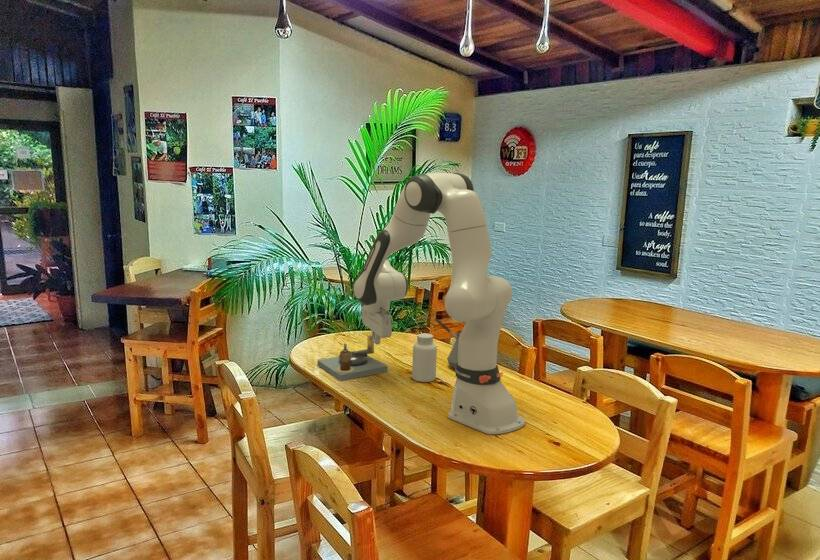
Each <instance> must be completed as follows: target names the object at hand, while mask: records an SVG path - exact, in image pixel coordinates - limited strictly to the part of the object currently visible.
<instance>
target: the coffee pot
mask: <svg viewBox="0 0 820 560" xmlns="http://www.w3.org/2000/svg"><path fill="white" fill-rule="evenodd" d="M432 321H433V322H432V323H438V324H439V325H440V326H441V327H442V328H443V329H444V330H445V331H447V332H448V333H449V334H450V335H451V336H453V338H455V339H456V340H455V342H454V344H453V346H452V348H451V350H450V352H449V354H448V357H447V362H448V364H449V365H450V366H451V367H452V369H454V370H455V368H456V363H457V362H458V339H459V335H460V333H461V332H462V330H463V329H460V330H456V331H455V332H452V330H451V329H450V328H449V327H448V326H447V325H446V324H444V323H443V322H442V320H439V319H438V318H434V319H433V320H432ZM434 321H435V322H434Z"/></svg>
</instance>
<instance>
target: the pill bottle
mask: <svg viewBox="0 0 820 560" xmlns="http://www.w3.org/2000/svg"><path fill="white" fill-rule="evenodd" d="M416 340H417V341H416V342H415V343H414V344H413V346H412V362H411V363H412V369H411V371H412V372H411V375H412V376H411V378H412V379H413V380H414V381H417V382H421V383H428V382H429V383H430V382H433V381H435V380H436V377H437V374H436V373H437V354H438V347H437V345H436V343H434V334H431V333H425V332H422V333H418V334H417V337H416Z"/></svg>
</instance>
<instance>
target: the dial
mask: <svg viewBox="0 0 820 560" xmlns="http://www.w3.org/2000/svg"><path fill="white" fill-rule="evenodd" d="M366 337H367V338H366V339H367V340H366V341H367V342H366V343H367V344H366V345H367V346H366V347H367V348H366V349H360V350H355V351H354V350H353V351H350V366H358V365H363V364H366V363H367V361H368V356H369V354H370V355H372V354H375V343H374V342H373V337H372V335H367V336H366ZM338 356H339V363H340V354H339V355H338Z"/></svg>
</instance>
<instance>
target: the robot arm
mask: <svg viewBox="0 0 820 560" xmlns="http://www.w3.org/2000/svg"><path fill="white" fill-rule="evenodd" d="M437 212H439V213H440V214H441V215H443V217H444V219H445V224H446V231H447V236H448V241H449V248H450V255H451V261H452V262H451V263H452V264H451V279H450V286H449V289H448V290H447V293H446V294H445V297H444V307H445V310H446V313H447V314H448V316H449V317H450V318H451V319H453V320H454V321H456V322H461V323H462V322H463V323H464V327H463V328H462V329H461V330H462V332H461V333H460V335H459V339H458V362H457V363H456V368H455V369H454V370H455V371H454V372H455V377H456V381H455V384H454V387H453V391H452V397H451V404H450V405H451V406H450V409H449V412H448V414H447V415H448V416H447V418H449V419H450V420H453V421H455V422H457V423H460V424H462V425H464V426H467V427H470V428H471V429H475V430H476V431H479V432H481V433H485V434H487V435H500V434H506V433H510V432H514V431H517V430H519V429H521V428H523V427H524V426H525V425H526V419H524V417H523V416H521V415H519V414H518V408H517V407H518V406H517V402H516V400H515V398H514V396H513V394H512V393H510V391H508V389H507V388H506V386H505V385H504V384H503V382H502V381H501V378H502V377H504V375H503V374H504V372H503V371H502V372H500V369H499V367H498V361H497V360H498V349H499V348H498V347H499V346H498V345H499V337H500V332H501V329H502V326H503V321H504V317H505V313H506V312H507V309H508V306H509V304H511V301H512V299H513V289H512V286H511V284H510V283H509V281H507V280H506V278H504V277H501V276H497V275H488V271H489V270H488V268H489V262H490V259H491V258H492V254H493V253H492V252H493V251H492V245H491V240H490V234H489V229H488V228H489V227H488V223H487V218H486V214H485V211H484V208H483V205H482V202H481V200H480V197H479V195H478V194H477V192H475V190H474V184H473V182H472V180H471V179H470V178H469V176H468V175H465V174H464V173H459V172H439V171H438V172H429V173H418V174H415V175H414V176H411V177H410V178H408V180H407V181H406V184H405V185H404V187H403V188H402V190H401V192H400V195H399V196H398V199H397V201H396V204H395V207H394V209H393V214H392V217H391V218H390V221H388V223H387V225H386V226H385V227H384V229H382V231H380V232H379V233H378V234H377V236H376V238H375V239H374V241H373V243H372V245H371V248H370V251H369V253H368V255H367V257H366V260H365V262H364V265H363V266H362V269H361V271H360V272H359V274H358V275H357V276H356V278H355V281H353V282H354V283H353V287H352V290H353V295H354V297H355V298H356V300H357V301H358V302H359V303H360V306H361V321H362V324H363V325H364V326H366V327H367V328H368V329H370V330H371V331H370V333H371V336H372V337H373V342H374V345H377V346H378V345H380V344H381V339H387V338H391V337H392V329H393V327H392V317H391V315H390V314H389V313H388V312H389V311H390V309H391V308H390V307H391V306H390V305H391V302H392V301H393V302H394V301H399V300H402V299H404V298H405V297H406V296H407V294H408V292H409V290H408V289H409V282H408V278H407V277H406V275H405V274H404V273H402V271H401V272H400V271H398V270H396V269H395V268H394V267H393V266H392V265H391V263H390V260H389V259H388V258H389V257H390V256H391V255H392V254H394V253H396V252H397V251H399V250H402V249H405V248H407V247H411V246H412V245H415V244H416V243H418V242H419V241H421V239H422V238H423V236H424V234H425V233H426V232H427V231H426V230H427V227H428V224H429V220H430V218H431V214H433V215H434V214H435V213H437Z"/></svg>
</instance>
